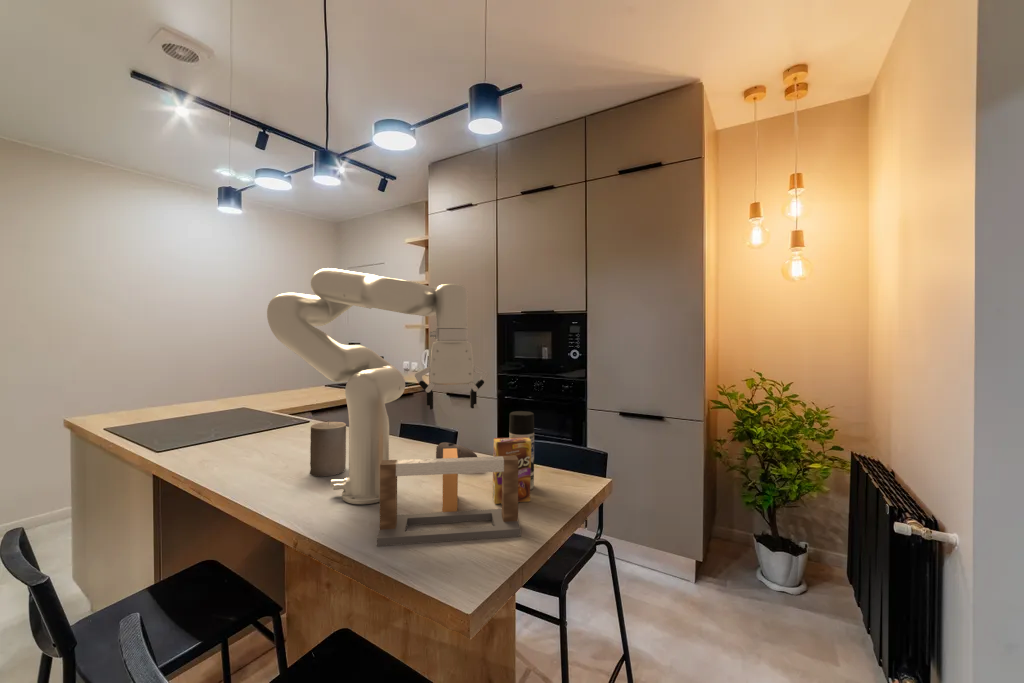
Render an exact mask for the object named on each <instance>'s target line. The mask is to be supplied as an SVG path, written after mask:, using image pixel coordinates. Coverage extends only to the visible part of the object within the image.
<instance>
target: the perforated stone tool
mask: <svg viewBox="0 0 1024 683" xmlns="http://www.w3.org/2000/svg"><path fill="white" fill-rule="evenodd" d="M449 448H457V455H458V458H469V457H478V454H476V453H475V452H474V451H473V450H471V449H470V448H467V447H465V446H462V445H460V444H455V443H451V442H446V441H444V442H440V443H439V444H438V445H436V449H435V450H436V451H435V459H442V458H443V449H449Z"/></svg>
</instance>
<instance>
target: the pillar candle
mask: <svg viewBox="0 0 1024 683" xmlns="http://www.w3.org/2000/svg"><path fill="white" fill-rule="evenodd" d="M309 447H310V448H309V449H310V451H309V453H310V455H309V456H310V458H309V459H310V460H309V461H310V463H309V466H310V470H309V474H310V475H311V476H313V477H320V478H321V477H331V476H336V474H337V475H339V473H340V474H342V473H344V472H346V470H347V469H346V466H347V465H346V464H347V460H346V459H347V423H345V422H342V421H329V420H327V421H326V422H317V423H314V424H312V425H311V426H310V446H309ZM343 471H344V472H343ZM341 472H342V473H341Z"/></svg>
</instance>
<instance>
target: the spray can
mask: <svg viewBox="0 0 1024 683" xmlns="http://www.w3.org/2000/svg"><path fill="white" fill-rule="evenodd" d="M508 426H509V427H508V430H509V431H508V433H509V434H508V435H509V437H508V438H514V437H528V438H529V439H530V440H531V479H530V491H532V490H533V489H534V487H535V485H534V484H535V414H534V412H532V411H526V410H525V411H523V410H518V411H517V410H515V411H511V412H510V413H509V425H508Z"/></svg>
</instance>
